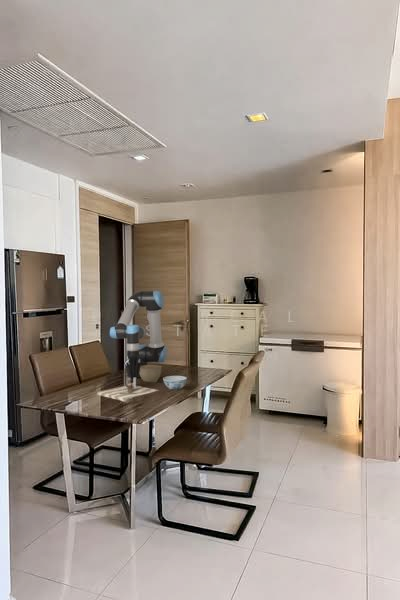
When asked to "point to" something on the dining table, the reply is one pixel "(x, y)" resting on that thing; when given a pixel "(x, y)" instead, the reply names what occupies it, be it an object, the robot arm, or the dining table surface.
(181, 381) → the chinaware
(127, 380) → the gauge needle
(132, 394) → the gauge board
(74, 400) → the dining table surface
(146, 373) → the planter bowl
